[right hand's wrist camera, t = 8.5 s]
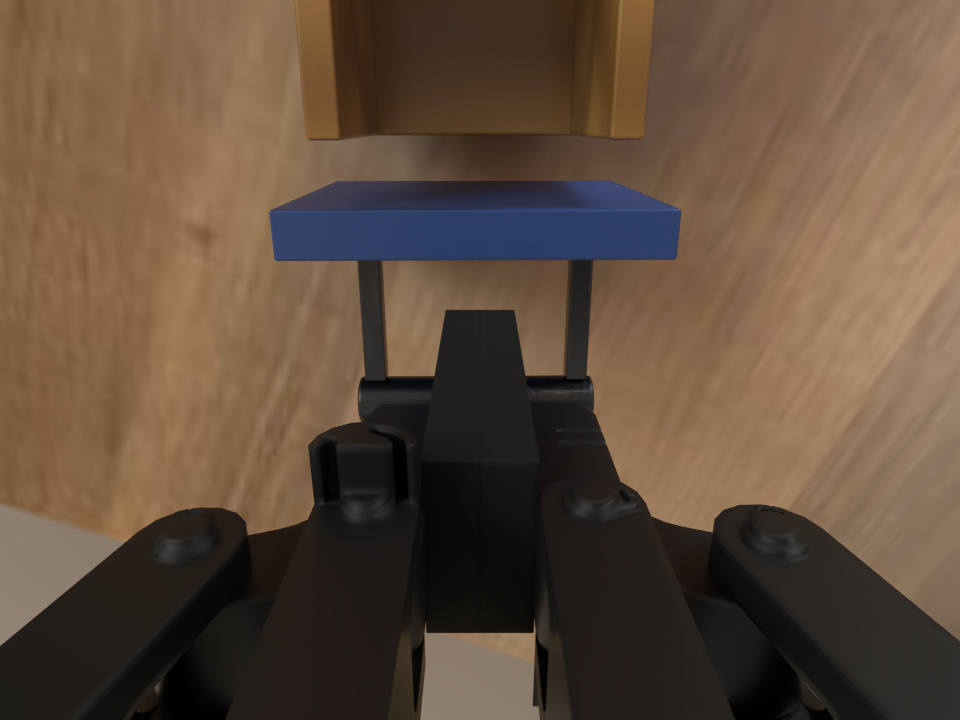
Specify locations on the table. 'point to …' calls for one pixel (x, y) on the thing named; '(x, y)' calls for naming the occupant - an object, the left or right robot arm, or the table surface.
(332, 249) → the drawer
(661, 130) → the table surface
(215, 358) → the table surface
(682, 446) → the table surface
